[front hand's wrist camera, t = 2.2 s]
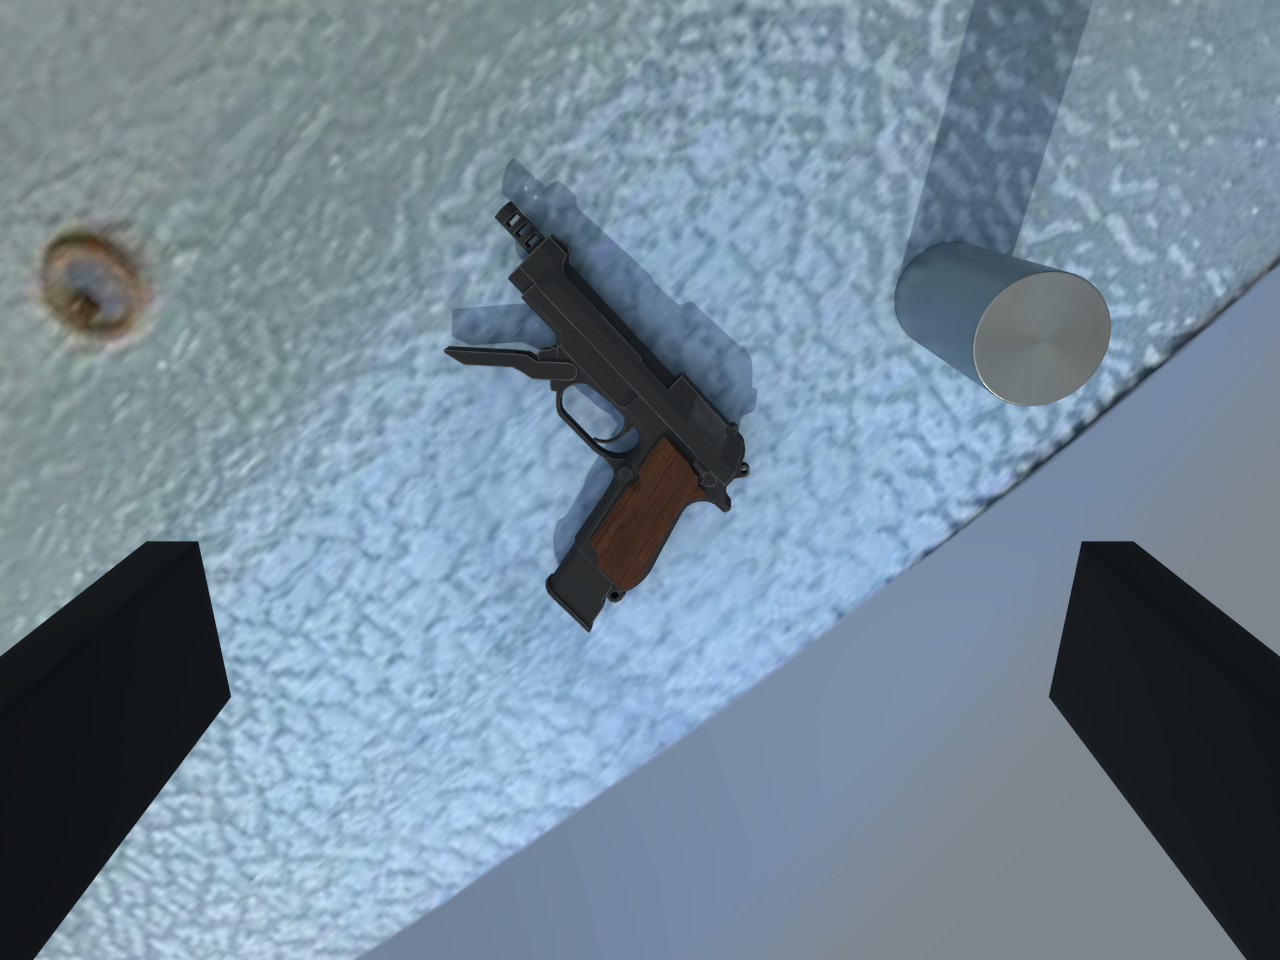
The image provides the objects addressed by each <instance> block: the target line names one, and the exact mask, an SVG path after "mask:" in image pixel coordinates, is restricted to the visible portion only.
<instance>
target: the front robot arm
mask: <svg viewBox="0 0 1280 960" xmlns="http://www.w3.org/2000/svg"><path fill="white" fill-rule="evenodd" d="M230 698H231V694H230V689H229V685H228V680H227V675H226V670H225V666H224V661H223V656H222V652H221V647H220V642H219V637H218V633H217V628H216V623H215V619H214V614H213V609H212V604H211V600H210V595H209V590H208V586H207V581H206V576H205V571H204V567H203V562H202V557H201V553H200V548H199V543H198V541H146V542H145V543H144V544H143V545H141V546H140V547H139V548H138V549H136V550H135V551H134V552H132V553H131V554H130V555H129V556H127V557H126V558H125V559H124V560H122V561H121V562H120V563H118V564H117V565H116V566H115V567H113V568H112V569H111V570H110V571H108V572H107V573H106V574H105V575H103V576H102V577H101V578H99V579H98V580H97V581H96V582H94V583H93V584H92V585H91V586H89V587H88V588H87V589H85V590H84V591H83V592H82V593H80V594H79V595H78V596H77V597H75V598H74V599H73V600H71V601H70V602H69V603H68V604H66V605H65V606H64V607H63V608H61V609H60V610H59V611H57V612H56V613H55V614H54V615H52V616H51V617H50V618H49V619H47V620H46V621H45V622H44V623H42V624H41V625H40V626H38V627H37V628H36V629H35V630H33V631H32V632H31V633H30V634H28V635H27V636H26V637H24V638H23V639H22V640H21V641H19V642H18V643H17V644H16V645H14V646H13V647H12V648H10V649H9V650H8V651H7V652H5V653H4V654H3V655H2V656H0V960H34V958H35V957H36V956H37V954H38V953H39V952H40V950H41V949H42V948H43V946H44V945H45V944H46V942H47V941H48V940H49V938H50V937H51V936H52V934H53V933H54V932H55V930H56V929H57V928H58V926H59V925H60V924H61V922H62V921H63V920H64V918H65V917H66V916H67V914H68V913H69V912H70V910H71V909H72V908H73V906H74V905H75V904H76V902H77V901H78V900H79V898H80V897H81V896H82V894H83V893H84V892H85V890H86V889H87V888H88V886H89V885H90V884H91V882H92V881H93V880H94V878H95V877H96V876H97V874H98V873H99V872H100V871H101V869H102V868H103V867H104V865H105V864H106V863H107V861H108V860H109V859H110V857H111V856H112V855H113V853H114V852H115V851H116V849H117V848H118V847H119V845H120V844H121V843H122V841H123V840H124V839H125V837H126V836H127V835H128V833H129V832H130V831H131V829H132V828H133V827H134V825H135V824H136V823H137V821H138V820H139V819H140V817H141V816H142V815H143V813H144V812H145V811H146V809H147V808H148V807H149V805H150V804H151V803H152V801H153V800H154V799H155V797H156V796H157V795H158V793H159V792H160V791H161V789H162V788H163V787H164V785H165V784H166V783H167V781H168V780H169V779H170V777H171V776H172V775H173V773H174V772H175V771H176V769H177V768H178V767H179V765H180V764H181V763H182V761H183V760H184V759H185V757H186V756H187V755H188V754H189V752H190V751H191V750H192V748H193V747H194V746H195V744H196V743H197V742H198V740H199V739H200V738H201V736H202V735H203V734H204V732H205V731H206V730H207V728H208V727H209V726H210V724H211V723H212V722H213V720H214V719H215V718H216V716H217V715H218V714H219V712H220V711H221V710H222V708H223V707H224V706H225V704H226V703H227V702H228V700H229V699H230ZM1049 698H1050V699H1051V700H1052V702H1053V703H1054V704H1055V706H1056V707H1057V708H1058V710H1059V711H1060V712H1061V714H1062V715H1063V716H1064V718H1065V719H1066V720H1067V722H1068V723H1069V724H1070V726H1071V727H1072V728H1073V730H1074V731H1075V732H1076V734H1077V735H1078V736H1079V737H1080V739H1081V740H1082V741H1083V743H1084V744H1085V745H1086V747H1087V748H1088V750H1089V751H1090V752H1091V753H1092V755H1093V756H1094V757H1095V759H1096V760H1097V761H1098V763H1099V764H1100V765H1101V767H1102V768H1103V769H1104V771H1105V772H1106V773H1107V775H1108V776H1109V777H1110V779H1111V780H1112V781H1113V783H1114V784H1115V785H1116V787H1117V788H1118V789H1119V791H1120V792H1121V793H1122V795H1123V796H1124V797H1125V799H1126V800H1127V801H1128V803H1129V804H1130V805H1131V807H1132V808H1133V809H1134V811H1135V812H1136V813H1137V815H1138V816H1139V817H1140V819H1141V820H1142V821H1143V823H1144V824H1145V825H1146V827H1147V828H1148V829H1149V831H1150V832H1151V833H1152V835H1153V836H1154V837H1155V839H1156V840H1157V841H1158V843H1159V844H1160V845H1161V846H1162V848H1163V849H1164V851H1165V852H1166V853H1167V854H1168V856H1169V857H1170V859H1171V860H1172V861H1173V863H1174V864H1175V865H1176V867H1177V868H1178V869H1179V871H1180V872H1181V873H1182V874H1183V876H1184V877H1185V878H1186V880H1187V881H1188V882H1189V884H1190V885H1191V886H1192V888H1193V889H1194V890H1195V892H1196V893H1197V894H1198V896H1199V897H1200V898H1201V900H1202V901H1203V902H1204V904H1205V905H1206V906H1207V908H1208V909H1209V910H1210V912H1211V913H1212V914H1213V916H1214V917H1215V918H1216V920H1217V921H1218V922H1219V924H1220V925H1221V926H1222V928H1223V929H1224V930H1225V932H1226V933H1227V934H1228V936H1229V937H1230V938H1231V940H1232V941H1233V942H1234V944H1235V945H1236V946H1237V948H1238V949H1239V950H1240V952H1241V953H1242V954H1243V956H1244V957H1245V958H1246V960H1280V656H1278V655H1277V654H1276V653H1275V652H1273V651H1272V650H1271V649H1270V648H1268V647H1267V646H1266V645H1264V644H1263V643H1262V642H1261V641H1259V640H1258V639H1257V638H1256V637H1254V636H1253V635H1252V634H1250V633H1249V632H1248V631H1247V630H1245V629H1244V628H1243V627H1242V626H1240V625H1239V624H1238V623H1236V622H1235V621H1234V620H1233V619H1231V618H1230V617H1229V616H1228V615H1226V614H1225V613H1224V612H1223V611H1221V610H1220V609H1219V608H1217V607H1216V606H1215V605H1214V604H1212V603H1211V602H1210V601H1209V600H1207V599H1206V598H1205V597H1203V596H1202V595H1201V594H1200V593H1198V592H1197V591H1196V590H1195V589H1193V588H1192V587H1191V586H1189V585H1188V584H1187V583H1186V582H1184V581H1183V580H1182V579H1181V578H1179V577H1178V576H1177V575H1175V574H1174V573H1173V572H1172V571H1170V570H1169V569H1168V568H1167V567H1165V566H1164V565H1163V564H1161V563H1160V562H1159V561H1158V560H1156V559H1155V558H1154V557H1153V556H1151V555H1150V554H1149V553H1147V552H1146V551H1145V550H1144V549H1142V548H1141V547H1140V546H1139V545H1137V544H1136V543H1135V542H1133V541H1082V543H1081V548H1080V553H1079V557H1078V562H1077V567H1076V571H1075V576H1074V581H1073V586H1072V590H1071V595H1070V600H1069V605H1068V609H1067V614H1066V619H1065V623H1064V628H1063V633H1062V638H1061V642H1060V647H1059V652H1058V656H1057V661H1056V666H1055V670H1054V675H1053V680H1052V685H1051V690H1050V694H1049Z"/></svg>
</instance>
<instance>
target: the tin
mask: <svg viewBox="0 0 1280 960" xmlns="http://www.w3.org/2000/svg"><path fill="white" fill-rule="evenodd" d="M895 312H896V316H897V319H898V321H899V324H900V326H901V327H902V329H903V330H904V331H905V333H906V334H907V335H908V336H909V337H911V338H912V339H913V340H914V341H916V342H917V343H919V344H920V345H922V346H923V347H925V348H926V349H928V350H929V351H930V352H932V353H933V354H935V355H936V356H938V357H939V358H941V359H942V360H944V361H945V362H946V363H948V364H949V365H951V366H952V367H954V368H955V369H957V370H958V371H960V372H961V373H962V374H964V375H965V376H967V377H968V378H970V379H971V380H973V381H974V382H976V383H977V384H978V385H980V386H981V387H983V388H984V389H986V390H987V391H989V392H990V393H992V394H993V395H995V396H996V397H998V398H999V399H1001V400H1003V401H1006V402H1008V403H1011V404H1015V405H1021V406H1038V405H1044V404H1048V403H1052V402H1055V401H1057V400H1060V399H1062V398H1064V397H1066V396H1068V395H1070V394H1071V393H1073V392H1074V391H1076V390H1077V389H1078V388H1080V387H1081V386H1082V385H1083V384H1084V383H1085V382H1086V381H1087V380H1089V379H1090V377H1091V376H1092V375H1093V374H1094V372H1095V371H1096V370H1097V368H1098V367H1099V365H1100V364H1101V362H1102V360H1103V358H1104V356H1105V353H1106V350H1107V348H1108V344H1109V340H1110V332H1111V322H1110V315H1109V310H1108V308H1107V305H1106V302H1105V300H1104V298H1103V297H1102V295H1101V294H1100V292H1099V291H1098V290H1097V288H1095V287H1094V286H1093V285H1092V284H1091V283H1090V282H1089V281H1087V280H1086V279H1084V278H1082V277H1080V276H1078V275H1076V274H1073V273H1069V272H1066V271H1062V270H1059V269H1055V268H1052V267H1048V266H1045V265H1041V264H1037V263H1034V262H1030V261H1027V260H1023V259H1020V258H1016V257H1012V256H1009V255H1005V254H1002V253H998V252H995V251H991V250H988V249H984V248H980V247H977V246H973V245H970V244H966V243H960V242H949V243H943V244H939V245H936V246H933V247H931V248H929V249H927V250H925V251H923V252H922V253H921V254H919V255H918V256H917V257H916V258H914V259H913V260H912V261H911V262H910V264H909V265H908V266H907V267H906V269H905V270H904V272H903V273H902V275H901V277H900V279H899V282H898V284H897V288H896V292H895Z"/></svg>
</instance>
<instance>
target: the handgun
mask: <svg viewBox="0 0 1280 960" xmlns="http://www.w3.org/2000/svg"><path fill="white" fill-rule="evenodd" d="M516 214H518V215H519V216H520V218H519V219H518V220H517V221H516V222H515V223H514V224H513V225H511V224H510V223H509V222H510V221H511V220H512V219H513V218H514V217H515V216H516ZM495 218H496V219H497V220H498V221H499V222H500V223H501V224H502V225H503V226H504V228H505V229H506V230H507V231H508V232H509V233H510V234H511V235H512V236H513V237H514V238H515V239H516V240H517V241H518V242H519V244H520V245H521V246H522V247H523V248H524V249H525V250H526V251H527V252H528V253H529V254H530V255H529V256H528V257H527V258H526V259H525V260H524V261H523V262H522V263H521V264H520V265H519V267H517V268H516V269H515V270H514V271H513V273H512V274H511V275H510V276H509V278H508V279H509V280H510V281H511V282H512V283H513V284H514V285H515V286H516V288H517V289H518V290H519V291H520V292H521V293H522V294H523V295H522V297H521V298H522V299H523V300H524V301H525V302H526V303H527V304H528V305H529V306H530V307H531V308H532V309H533V310H534V311H535V313H536V314H537V315H538V316H539V317H540V318H541V319H542V320H543V321H544V322H545V323H546V324H547V325H548V326H549V327H550V328H551V329H552V330H553V331H554V332H555V334H556V338H557V345H554V346H553V347H544V348H543V349H542V350H541V351H540V352H539V353H538V355H536V354H534V353H532V352H531V351H524V350H511V349H492V348H473V347H455V346H449V347H447V348H446V349H444V353H446V354H447V355H449V356H450V357H452V358H454V359H455V360H457V361H459V362H460V363H462V364H464V365H480V366H499V367H513V368H515V369H517V370H519V371H521V372H522V373H524V374H525V375H527V376H529V377H530V378H532V379H545V380H550V386H551V391H556V408H557V413H558V415H559V416H560V417H561V418H562V419H563V420H564V421H565V422H566V423H567V424H568V425H569V426H570V427H571V428H572V429H573V430H574V431H575V432H576V434H577V435H578V436H579V437H580V438H581V439H582V440H583V441H584V442H585V443H586V444H587V445H588V446H589V447H590V448H591V449H592V450H593V451H595V452H596V453H597V454H599V455H600V456H602V457H604V458H605V460H606V461H607V462H608V463H609V464H610V465H611V467H612V469H613V472H614V475H615V476H614V478H613V480H612V482H611V484H610V486H609V487H608V489H607V491H606V492H605V494H604V495H603V497H602V498H601V500H600V501H599V503H598V504H597V506H596V507H595V508H594V510H593V511H592V513H591V514H590V516H589V517H588V518H587V520H586V521H585V523H584V524H583V526H582V527H581V529H580V530H579V532H578V533H577V534H576V536H575V543H574V544H573V546H572V547H571V549H570V550H569V552H568V553H567V555H566V557H565V558H564V560H563V561H562V563H561V564H560V566H559V567H558V568H557V570H556V571H555V573H554V574H551V575H550V576H549V577H548V578H547V579H546V589H547V591H548V594H549V595H550V596H551V597H552V598H553V599H554V600H555V601H556V602H557V603H558V604H559V605H560V606H561V607H562V608H563V609H564V610H565V611H566V612H568V613H569V614H570V615H571V616H572V617H573V618H574V619H575V620H576V621H577V622H578V623H579V624H580V625H581V626H582V627H583V628H584V629H585V630H586V631H587V632H588V633H589V632H590V631H591V629H592V625H593V622H594V620H595V618H596V617H597V616H598V614H599V613H600V611H601V610H602V608H603V607H604V603H605V599H606V595H607V598H608V600H609V601H610V602H614V603H617V602H618V601H620V600H622V598H623V597H624V596H625V594H626V591H628V590H631V589H632V588H634V587H636V586H637V585H638V584H639V583H641V582H642V581H643V580H644V579H645V578H646V576H647V575H648V574H649V573H650V571H651V569H652V567H653V566H654V564H655V562H656V560H657V558H658V556H659V554H660V552H661V550H662V549H663V547H664V545H665V543H666V541H667V540H668V538H669V536H670V534H671V532H672V530H673V528H674V526H675V525H676V523H677V521H678V519H679V517H680V516H681V514H682V512H683V510H684V509H685V508H686V507H687V506H688V505H690V504H691V503H694V502H699V501H705V502H711V503H713V504H715V505H716V506H717V507H718V508H720V509H721V510H722V511H723V512H728V511H729V510H730V509H731V499H730V497H729V496H728V495H727V493H726V487H727V486H728V485H729V484H730V483H731V482H732V481H733V479H735V478H742V477H747V476H748V475H749V465H748V464H747V463H746V462H742V461H743V458H744V455H745V444H744V439H743V437H742V435H741V434H740V433H739V432H738V428H737V427H738V425H737V424H736V423H735V422H731V423H730V422H729V421H728V420H727V419H726V418H725V417H724V416H723V415H722V414H721V413H720V412H719V410H718V409H717V408H716V407H715V406H714V405H713V404H712V403H711V402H710V401H709V400H708V399H707V397H706V396H705V395H704V394H703V393H702V392H701V391H700V390H699V389H698V388H697V387H696V386H695V385H694V383H693V382H692V381H691V380H690V379H689V378H688V377H687V376H686V375H685V374H684V373H683V372H681V373H680V374H679V375H677V376H676V377H674V376H673V375H672V374H671V373H670V372H669V371H668V370H667V369H666V368H665V366H664V365H663V364H662V363H661V362H660V361H659V360H658V359H657V358H656V357H655V356H654V355H653V354H652V352H651V351H650V350H649V349H648V348H647V347H646V346H645V345H644V344H643V343H642V342H641V341H640V340H639V339H638V337H637V336H636V335H635V334H634V333H633V332H632V331H631V330H630V329H629V328H628V327H627V326H626V325H625V323H624V322H623V321H622V320H621V319H620V318H619V317H618V316H617V315H616V314H615V313H614V312H613V311H612V309H611V308H610V307H609V306H608V305H607V304H606V303H605V302H604V301H603V300H602V299H601V298H600V297H599V295H598V294H597V293H596V292H595V291H594V290H593V289H592V288H591V287H590V286H589V285H588V284H587V283H586V282H585V280H584V279H583V278H582V277H581V276H580V275H579V274H578V273H577V272H576V271H575V270H574V269H573V268H572V266H571V265H570V264H569V262H568V260H569V255H570V247H569V245H568V244H566V243H565V242H563V241H561V240H559V239H558V238H556V237H555V236H554V235H553V234H552V235H550V236H548V237H547V238H545V237H544V236H543V235H542V234H541V233H540V232H539V231H538V230H537V229H536V228H535V227H534V226H533V225H532V223H531V222H530V221H529V220H528V219H527V218H526V217H525V216H524V215H523V214H522V213H521V212H520V211H519V209H518V208H517V207H516V206H515V205H514V204H513V203H512V202H511V201H510V202H508V203H507V204H506V205H505V206H504V207H503V208H502V209H501V210H500V211H499V212H498V213H497V214H496V216H495ZM526 224H527V225H528V226H529V227H530V228H529V229H528V230H527V231H526V232H525V233H524V234H523V235H522V236H521V235H520V234H519V233H518V232H519V231H520V230H521V229H522V228H523V227H524V226H525V225H526ZM535 235H537V236H538V237H539V239H538V240H537V241H536V242H535V243H534V244H533V245H532V246H530V244H529V243H528V242H529V241H530V240H531V239H532V238H533V237H534V236H535ZM578 383H581V384H588V385H589V386H590V387H591V388H593V389H594V390H595V391H596V392H598V393H599V394H600V395H601V396H603V397H604V398H605V399H607V400H608V401H609V402H610V403H612V404H613V405H614V407H615V408H616V409H617V410H618V411H619V412H620V413H621V414H622V415H623V416H624V417H625V423H624V427H623V429H622V431H621V432H620V433H619V434H618V435H617V436H616V437H614V438H612V439H608V440H602V439H598V438H593V439H592V438H591V437H590V436H589V435H588V434H587V433H586V432H585V431H584V430H583V428H582V427H581V426H580V425H579V424H578V423H577V422H576V421H575V420H574V419H573V418H572V417H571V416H570V415H569V414H568V413H567V412H566V411H565V410H564V408H563V405H562V395H563V392H564V390H565V389H566V388H568V387H569V386H571V385H573V384H578ZM632 425H633V426H634V427H635V428H636V429H637V431H638V433H639V438H640V441H639V443H638V444H637V445H636V446H635V447H634V448H633V449H631V450H630V451H627V452H623V453H616V452H612V451H608V450H606V449H604V448H603V447H601V446H600V445H598V444H597V443H596V442H599V443H613V442H615V441H617V440H619V439H620V438H622V437H623V436H624V435H625V434H626V433H627V432H629V431H631V430H632ZM595 441H596V442H595ZM744 468H745V469H746V470H742V469H744Z"/></svg>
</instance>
